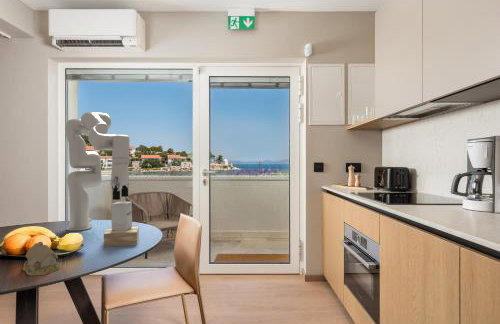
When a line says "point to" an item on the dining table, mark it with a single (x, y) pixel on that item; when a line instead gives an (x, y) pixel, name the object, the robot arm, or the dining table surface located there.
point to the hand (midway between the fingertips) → (120, 198)
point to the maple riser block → (121, 237)
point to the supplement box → (121, 216)
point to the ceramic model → (40, 260)
